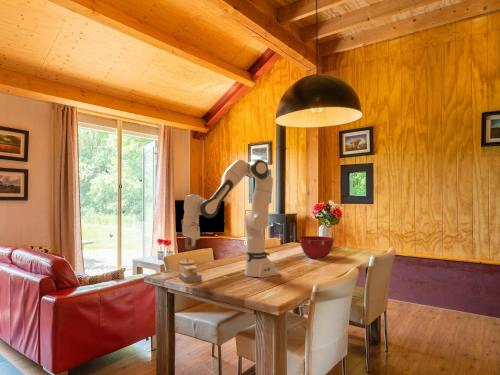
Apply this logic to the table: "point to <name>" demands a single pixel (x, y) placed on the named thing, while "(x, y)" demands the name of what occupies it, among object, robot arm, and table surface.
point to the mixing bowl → (316, 246)
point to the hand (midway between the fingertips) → (190, 245)
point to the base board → (190, 277)
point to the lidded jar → (186, 264)
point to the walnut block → (189, 244)
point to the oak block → (190, 270)
